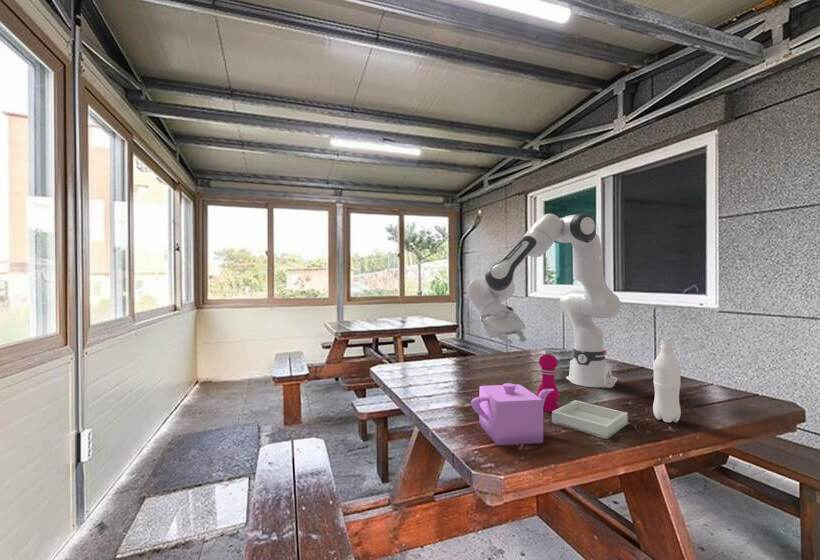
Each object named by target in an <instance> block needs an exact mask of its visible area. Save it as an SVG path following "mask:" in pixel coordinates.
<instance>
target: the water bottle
mask: <svg viewBox="0 0 820 560" xmlns="http://www.w3.org/2000/svg"><path fill="white" fill-rule="evenodd" d="M660 341H661V344H660V346H659V347H660V351H659V353H658V355H657V356H656V358H655V360H654V361H653V365H652V366H653V381H652V383H653V387H654V400H653V404H652V412H653V415H654V418H655V419H657V420H659V421H660V420H662V421H663V422H665V423H667V424H668V423H672V422H673V423H678V422H679V420H680V418H681V415H682V414H681V413H682V411H681V410H682V409H681V405H680V389H681V386H682V385H681V370H682V366H681V364H680V361H679V360H678V358H677V357H676V355H675V353H674V349H675V348H674V342H673V340H671V339H661V340H660Z"/></svg>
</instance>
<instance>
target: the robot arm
mask: <svg viewBox="0 0 820 560" xmlns="http://www.w3.org/2000/svg"><path fill="white" fill-rule="evenodd" d="M596 224H597V223H596V222H595V218H594V217H593V216H592V215H590V214H587V213H577V214H570V215H566V216H563V217H559V216H557V215H556V214H554V213H546V214H543V215H542V216H540V217H539V218H538V219H536V221H535V222H534V223H533V224H532V225H531V226H530V227H529V229H528V230H527V231H526V232H525V234H524V235H523V236H522V237H521V238H520V239H519V240H518V241H517V242H516V243H515V244H514V245H513V246H512V247H510V249H509V250H508V251H507V252H506V254H504V256H503V257H501V258H500V259H499V260H497V261H496V262H493V264H490V265H489V266H488V268H486V271H485V273H484V278H479V277H478V278H477V277H476V278H474V279H472V280H471V281H470V282H469V283H468V285H467V287H466V295H467V297H468V299H469V300H470V302H471V303H472V305H473V306H474V308H476V309H478V310H479V314H480V315H481V316H480V318H479V319H480V322H481V325H482V327H483V328H484V330H485V332H486V333H487V335H488V336H489V338H491V339H495V338H498V339H499V340H501V341H502V342H503V343H505V345H506V346H508V347H509V346H511V345H512V344H513V340H512V339H511V338H508V336H512V335H516V336H518V337H519V339H518V340H519V341H520V342H521V343H525V342H526V341H527V340H528V339H527V337H526V336H525V333H524V331H525V329H526V324H525V323H524V321H523V320H522V319H521V317H520V316H519V315H518V314H517V313H516V312H515V309H514V308H513V307H512V306H509V305H505V304H504V303H502V302H504V301H506V300H508V299H510V297H512V296H513V294H514V292H515V282H514V274H515V271H516V269H517V268H518V267H519V266H520V265H521V263H522V262H523V261H524V260H525V259H526V258H527V257H531V258H540V257H542V256H543V255H544V254H546V253H547V252H548V251H549V250H550V248H551V247H552V246H553V244H554V243H556V244H569V243H570V244H571V245H572V248H573V254H572V255H573V258H572V259H573V276H574V278H575V280H577V281H578V282H579V283H581V284H582V287H583V288H584V290H571V291H566V292H564V293H563V294H561V297H560V298H559V307H560V309H561V311H562V312H563V313H564V314H566V316H567V318H568V319H569V321H570V323H571V325H572V330H573V344H574V345H573V349H572V357H573V358H572V359H571V360H569V371H568V373H569V374H568V375H567V376H566V380H567V381H569V382H571V384H574V385H577V386H582V387H587V388H588V387H589V388H608V389H612V388H613V387H614V386H615V385H616V383H617V381H618V378H617V377H615V376H612V367H611V365H610V364H609V363H608V362H607V361H606V355H607V350H606V349H604V333H603V331H602V329H601V328H600V327H598V326H597V325H596V324H595V323H594V321H593V318H595V319H609V318H615V317H616V316H617V315H618V314H619V313H620V310H621V307H622V306H621V305H622V304H621V299H619V296H617V295H616V293H614V292H613V291H612V290H611V289H610V287H609V286H608V284H607V283H606V280H605V277H604V268H603V250H602V244H601V239H600V236H599V235H598V234H597V233H596V232H597V225H596Z"/></svg>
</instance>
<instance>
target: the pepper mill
mask: <svg viewBox="0 0 820 560" xmlns="http://www.w3.org/2000/svg"><path fill="white" fill-rule="evenodd" d="M538 364H539V366H540V367H541V368H540V374H541V383H540V385H539V387H538V389H537V392H536V396H538V395H539V393H540V392H541V391H542V390H544V389H554V390H553V391H552V392H550V393H549V394H548V395H547V396H546V398H545V401H544V406H543V412H548V413H549V412H550V413H552V411H554V410H556V409H558V408H559V405H558V402H559V400H560V393H559V390H558V387H557V386H556V385H557V384H556V381H555V375H556V374H557V369H556V368H557V367H558V365H559V363H558V359H557V358H556V357H555V356H554V355H552V352H551V350H548V349H547V350H546V351H545V353H544V354H543V355H541V356H540V357H539V359H538Z"/></svg>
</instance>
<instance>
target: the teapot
mask: <svg viewBox="0 0 820 560" xmlns="http://www.w3.org/2000/svg"><path fill="white" fill-rule="evenodd" d="M553 390H554V389H544V390H542V391H541V392H540V393H539V395H538V396H537V394H535V393H533V392H532V391H531V390H529V389H528V388H526V387H525V386H523V385H522V384H518V383H517V384H516V383H515V384H514V383H510V382H509V383H508V382H506V383H503V384H496V385H495V384H494V385H479V392H478V393H479V395H478V397H474V398H472V399H471V402H470V405H471V407H472V409H473V410H474V411H475V413H477V414H478V415H479V416H478V417H479V418H478V419H479V423H478V424H479V425H480V427H481V428H482V429H483V430H484V431H485V432H486V434H487V435H488V436H489V437H490V439H491V440H492V441H493V442H494V443H495V444H496V446H511V445H526V444H527V445H528V444H543V443H544V411H543V406H544V401H545V398H546V396H547V395H548V394H549V393H550V392H552V391H553Z"/></svg>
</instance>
